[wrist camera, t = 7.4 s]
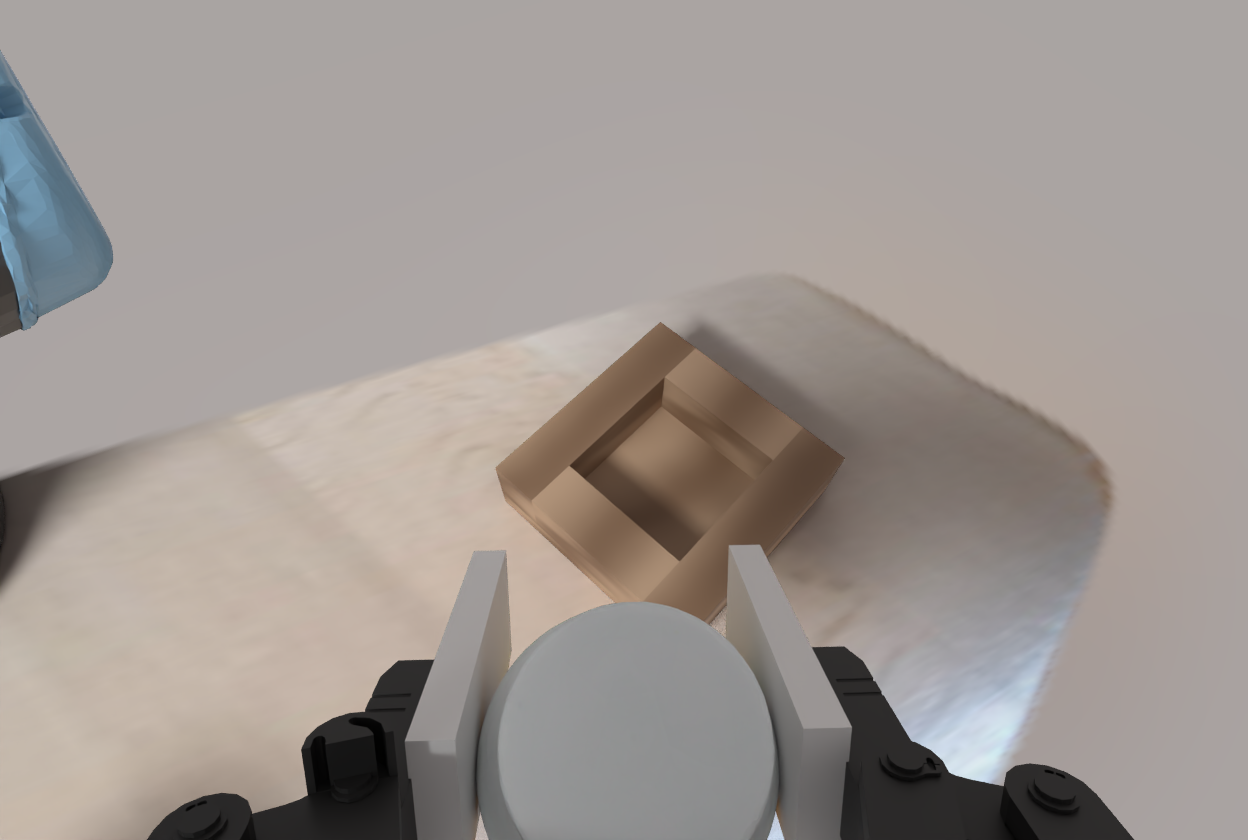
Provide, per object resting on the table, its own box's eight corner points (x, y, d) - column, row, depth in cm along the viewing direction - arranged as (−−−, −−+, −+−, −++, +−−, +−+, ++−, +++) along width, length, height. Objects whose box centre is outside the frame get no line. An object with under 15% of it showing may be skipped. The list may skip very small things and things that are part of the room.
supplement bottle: (478, 850, 18) (367, 864, 10) (564, 641, 20) (536, 508, 12) (687, 944, 17) (765, 1051, 9) (750, 715, 20) (857, 627, 11)
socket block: (505, 500, 38) (495, 467, 35) (656, 363, 43) (660, 322, 39) (678, 661, 35) (685, 641, 31) (823, 491, 39) (844, 458, 36)
